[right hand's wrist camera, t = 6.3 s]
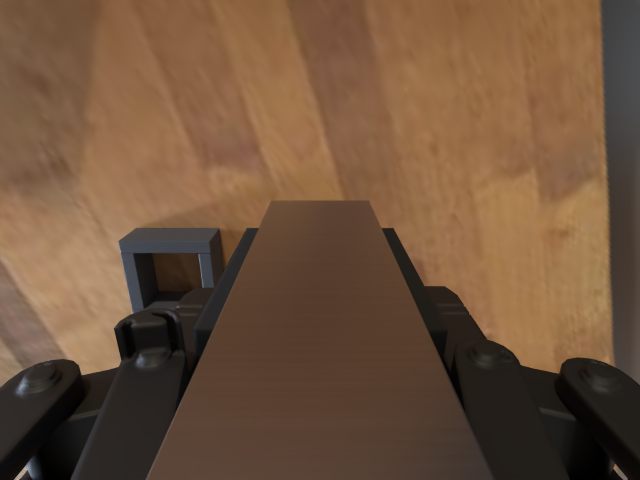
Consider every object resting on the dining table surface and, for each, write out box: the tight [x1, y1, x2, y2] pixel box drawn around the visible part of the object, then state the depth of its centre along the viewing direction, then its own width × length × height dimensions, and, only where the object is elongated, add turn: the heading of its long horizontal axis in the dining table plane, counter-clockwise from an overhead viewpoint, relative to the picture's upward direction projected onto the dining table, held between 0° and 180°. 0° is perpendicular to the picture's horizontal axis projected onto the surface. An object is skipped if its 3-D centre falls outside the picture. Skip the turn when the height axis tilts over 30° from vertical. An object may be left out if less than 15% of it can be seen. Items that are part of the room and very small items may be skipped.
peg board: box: [118, 228, 224, 314], centre depth 31 cm, size 24×7×11 cm, turn 0°
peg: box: [146, 201, 495, 480], centre depth 11 cm, size 4×4×12 cm
